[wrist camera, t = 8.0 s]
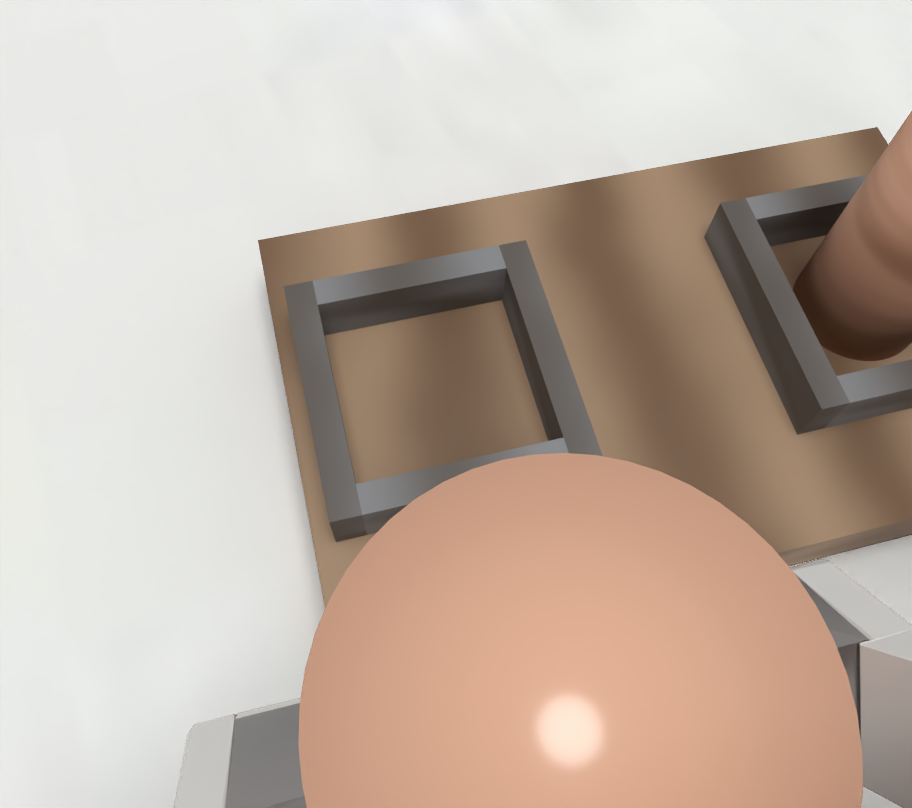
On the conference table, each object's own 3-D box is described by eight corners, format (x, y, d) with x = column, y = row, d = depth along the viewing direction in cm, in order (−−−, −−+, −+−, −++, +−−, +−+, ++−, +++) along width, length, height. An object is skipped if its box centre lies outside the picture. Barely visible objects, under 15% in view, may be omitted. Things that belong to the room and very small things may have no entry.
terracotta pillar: (583, 621, 17) (729, 406, 8) (663, 870, 15) (973, 948, 6) (364, 679, 17) (259, 518, 8) (416, 944, 15) (359, 1149, 6)
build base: (845, 176, 38) (1032, -111, 26) (1036, 502, 31) (1405, 314, 19) (271, 285, 34) (188, 12, 22) (345, 679, 27) (281, 581, 16)
